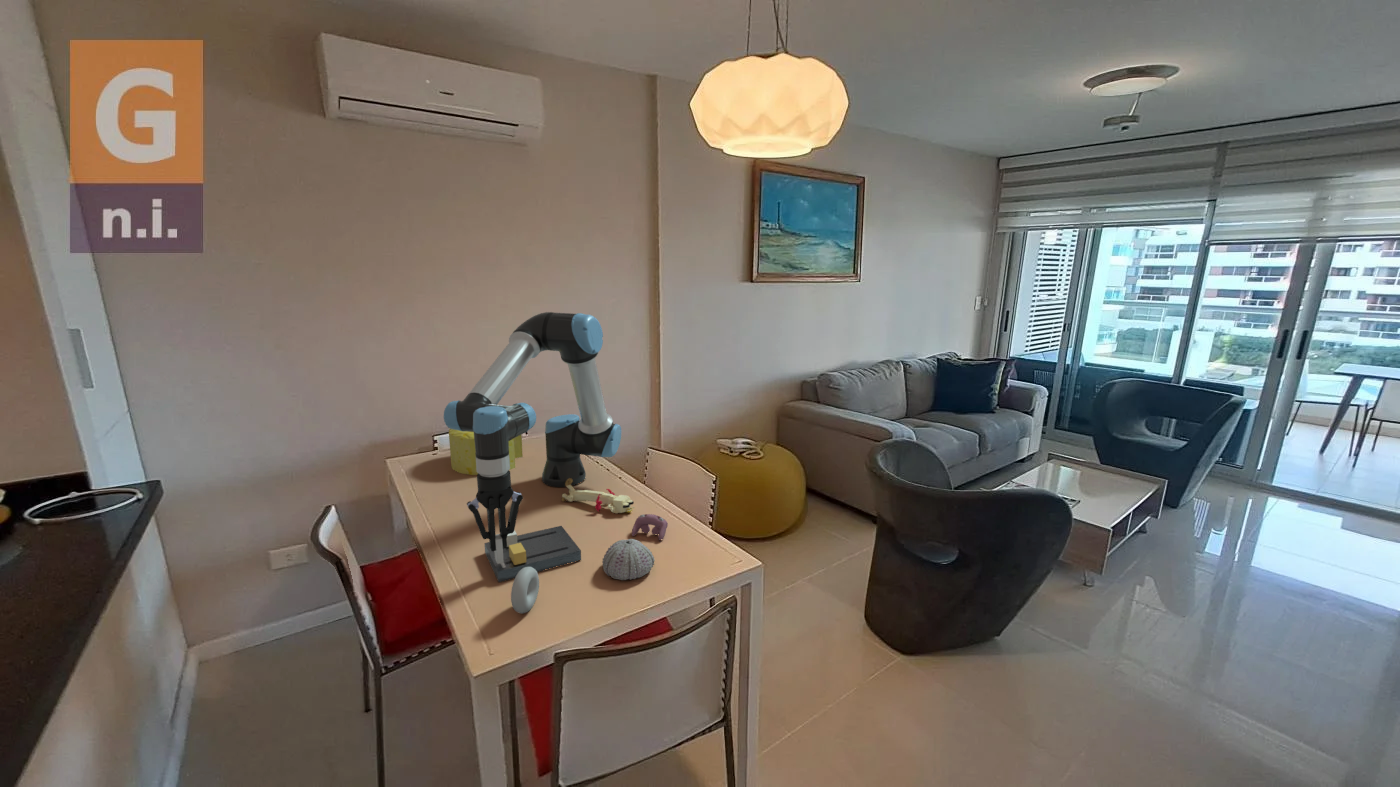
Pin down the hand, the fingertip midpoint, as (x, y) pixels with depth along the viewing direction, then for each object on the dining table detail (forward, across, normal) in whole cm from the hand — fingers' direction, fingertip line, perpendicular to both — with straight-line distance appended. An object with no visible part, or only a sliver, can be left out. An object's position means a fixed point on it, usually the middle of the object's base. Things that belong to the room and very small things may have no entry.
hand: (499, 560), depth 139 cm
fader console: (+4, -9, -5) cm, 11 cm away
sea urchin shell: (+5, -29, +13) cm, 32 cm away
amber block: (+1, -4, 0) cm, 5 cm away
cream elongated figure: (+5, -36, -26) cm, 45 cm away
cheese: (+5, -14, -83) cm, 84 cm away
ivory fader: (+1, -5, -10) cm, 11 cm away
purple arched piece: (+4, -42, -1) cm, 42 cm away
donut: (+4, -2, +17) cm, 18 cm away
